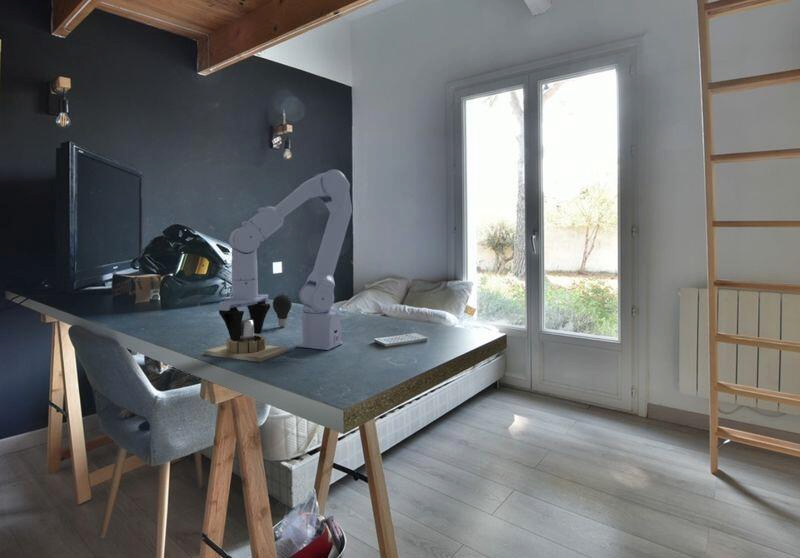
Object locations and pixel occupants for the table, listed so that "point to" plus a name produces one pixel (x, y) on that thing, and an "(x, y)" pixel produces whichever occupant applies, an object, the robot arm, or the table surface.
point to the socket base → (247, 356)
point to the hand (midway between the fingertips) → (246, 336)
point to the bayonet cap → (247, 330)
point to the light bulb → (282, 308)
